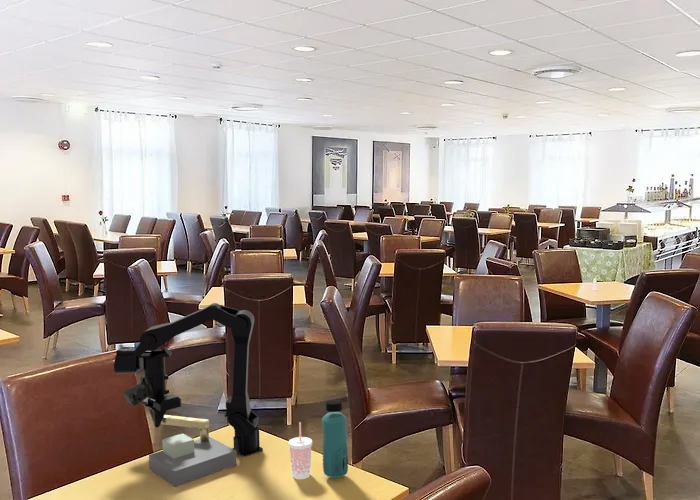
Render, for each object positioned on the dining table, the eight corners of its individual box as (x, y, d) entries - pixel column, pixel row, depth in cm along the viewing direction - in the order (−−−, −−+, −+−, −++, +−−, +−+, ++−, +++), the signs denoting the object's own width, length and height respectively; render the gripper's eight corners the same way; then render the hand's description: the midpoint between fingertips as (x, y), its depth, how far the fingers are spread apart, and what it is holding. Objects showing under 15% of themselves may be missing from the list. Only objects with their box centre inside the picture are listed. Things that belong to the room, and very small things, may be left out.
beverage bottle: (345, 484, 157) (344, 406, 155) (319, 482, 159) (318, 404, 157) (350, 473, 164) (349, 397, 162) (325, 471, 165) (324, 396, 163)
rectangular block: (183, 445, 173) (182, 433, 172) (194, 452, 168) (193, 439, 168) (162, 452, 169) (162, 439, 168) (173, 458, 164) (173, 445, 164)
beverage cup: (318, 474, 163) (316, 421, 162) (300, 482, 159) (299, 428, 157) (301, 467, 167) (300, 416, 166) (284, 475, 163) (282, 422, 161)
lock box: (209, 450, 180) (208, 436, 179) (236, 465, 169) (236, 450, 169) (149, 469, 167) (148, 454, 167) (174, 486, 157) (174, 471, 157)
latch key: (210, 438, 177) (210, 419, 176) (206, 441, 175) (205, 422, 174) (157, 432, 182) (157, 413, 182) (152, 435, 180) (152, 416, 179)
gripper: (112, 372, 177) (115, 426, 179) (142, 385, 164) (144, 443, 165) (149, 364, 185) (152, 416, 186) (181, 376, 171) (183, 432, 173)
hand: (157, 427), depth 177 cm, fingers closed
